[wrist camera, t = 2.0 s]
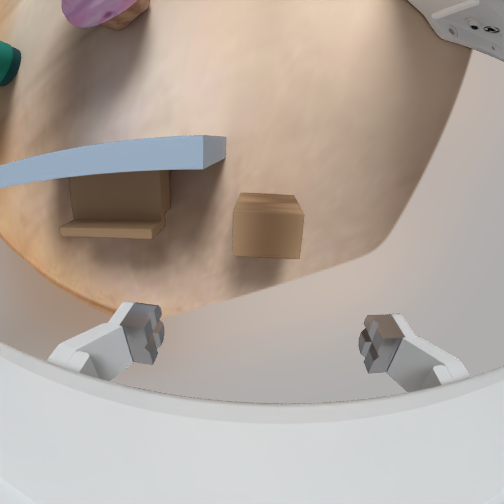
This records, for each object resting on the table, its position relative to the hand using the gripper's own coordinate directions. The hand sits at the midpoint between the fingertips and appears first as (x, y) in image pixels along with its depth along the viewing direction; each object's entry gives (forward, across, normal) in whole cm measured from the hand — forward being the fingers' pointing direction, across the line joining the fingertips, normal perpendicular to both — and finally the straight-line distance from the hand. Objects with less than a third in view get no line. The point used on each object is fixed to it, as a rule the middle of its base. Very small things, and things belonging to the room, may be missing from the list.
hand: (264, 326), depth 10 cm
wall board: (+17, +14, -3) cm, 22 cm away
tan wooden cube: (+17, 0, 0) cm, 17 cm away
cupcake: (+18, +15, -23) cm, 32 cm away
